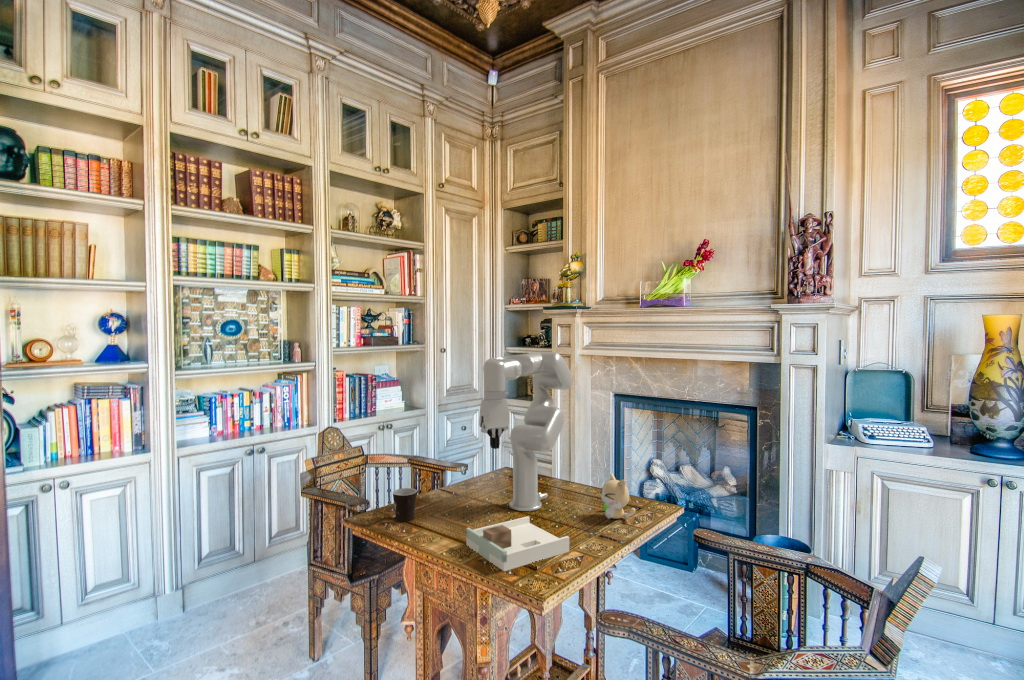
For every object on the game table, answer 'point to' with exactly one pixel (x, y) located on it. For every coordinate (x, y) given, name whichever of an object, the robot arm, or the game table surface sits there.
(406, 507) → the coffee mug
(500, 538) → the walnut block
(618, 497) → the kitten
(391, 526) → the game table surface
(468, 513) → the game table surface
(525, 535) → the board
